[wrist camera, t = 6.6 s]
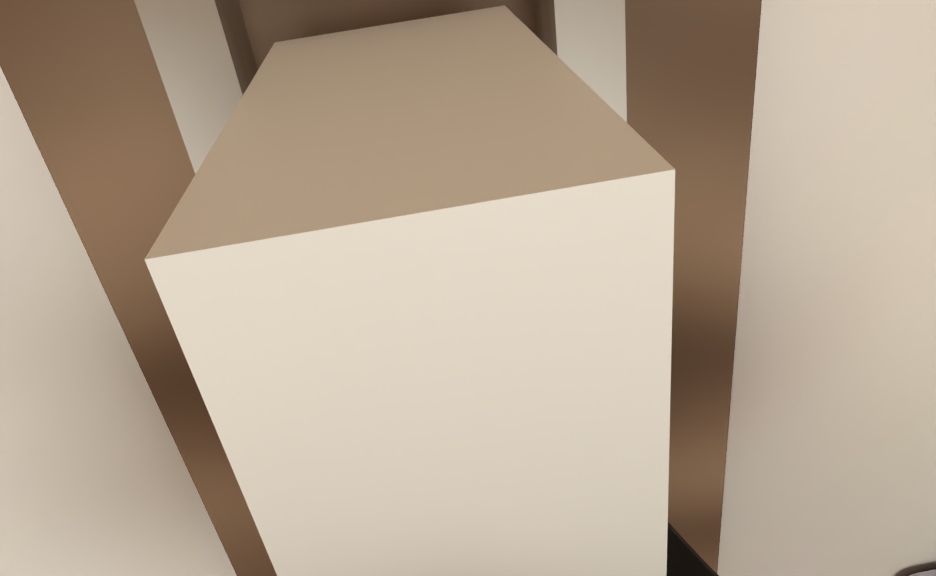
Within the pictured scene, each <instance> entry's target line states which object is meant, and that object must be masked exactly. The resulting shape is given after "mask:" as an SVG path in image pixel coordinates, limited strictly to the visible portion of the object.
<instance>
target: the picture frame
mask: <svg viewBox="0 0 936 576" xmlns="http://www.w3.org/2000/svg"><path fill="white" fill-rule="evenodd" d="M761 2H762V0H0V66H1V68H2V71H3V73H4V75H5V77H6V79H7V81H8V83H9V86H10V88H11V90H12V92H13V94H14V96H15V99H16V101H17V103H18V105H19V107H20V109H21V111H22V114H23V116H24V118H25V120H26V122H27V124H28V127H29V129H30V131H31V133H32V135H33V137H34V139H35V142H36V144H37V146H38V148H39V150H40V152H41V155H42V157H43V159H44V161H45V163H46V165H47V167H48V170H49V172H50V174H51V176H52V178H53V180H54V183H55V185H56V187H57V189H58V191H59V193H60V195H61V198H62V200H63V202H64V204H65V206H66V208H67V211H68V213H69V215H70V217H71V219H72V221H73V223H74V226H75V228H76V230H77V232H78V234H79V236H80V238H81V241H82V243H83V245H84V247H85V249H86V251H87V254H88V256H89V258H90V260H91V262H92V264H93V266H94V269H95V271H96V273H97V275H98V277H99V279H100V282H101V284H102V286H103V288H104V290H105V292H106V294H107V297H108V299H109V301H110V303H111V305H112V307H113V310H114V312H115V314H116V316H117V318H118V320H119V322H120V325H121V327H122V329H123V331H124V333H125V335H126V338H127V340H128V342H129V344H130V346H131V348H132V350H133V353H134V355H135V357H136V359H137V361H138V363H139V366H140V368H141V370H142V372H143V374H144V376H145V378H146V381H147V383H148V385H149V387H150V389H151V391H152V394H153V396H154V398H155V400H156V402H157V404H158V406H159V409H160V411H161V413H162V415H163V417H164V419H165V422H166V424H167V426H168V428H169V430H170V432H171V434H172V437H173V439H174V441H175V443H176V445H177V447H178V450H179V452H180V454H181V456H182V458H183V460H184V462H185V465H186V467H187V469H188V471H189V473H190V475H191V477H192V480H193V482H194V484H195V486H196V488H197V490H198V493H199V495H200V497H201V499H202V501H203V503H204V505H205V508H206V510H207V512H208V514H209V516H210V518H211V521H212V523H213V525H214V527H215V529H216V531H217V533H218V536H219V538H220V540H221V542H222V544H223V546H224V549H225V551H226V553H227V555H228V557H229V559H230V561H231V564H232V566H233V568H234V570H235V572H236V574H237V576H277V574H276V572H275V569H274V567H273V565H272V562H271V560H270V558H269V555H268V553H267V550H266V548H265V546H264V543H263V541H262V538H261V536H260V534H259V531H258V529H257V527H256V524H255V522H254V519H253V517H252V515H251V512H250V510H249V508H248V505H247V503H246V500H245V498H244V496H243V493H242V491H241V488H240V486H239V484H238V481H237V479H236V477H235V474H234V472H233V469H232V467H231V465H230V462H229V460H228V458H227V455H226V453H225V450H224V448H223V446H222V443H221V441H220V438H219V436H218V434H217V431H216V429H215V427H214V424H213V422H212V419H211V417H210V415H209V412H208V410H207V408H206V405H205V403H204V400H203V398H202V396H201V393H200V391H199V389H198V386H197V384H196V381H195V379H194V377H193V374H192V372H191V369H190V367H189V365H188V362H187V360H186V358H185V355H184V353H183V350H182V348H181V346H180V343H179V341H178V339H177V336H176V334H175V331H174V329H173V327H172V324H171V322H170V319H169V317H168V315H167V312H166V310H165V308H164V305H163V303H162V300H161V298H160V296H159V293H158V291H157V289H156V286H155V284H154V281H153V279H152V277H151V274H150V272H149V270H148V267H147V265H146V262H145V260H144V259H145V258H146V256H147V254H148V253H149V251H150V249H151V248H152V246H153V244H154V243H155V241H156V239H157V238H158V236H159V234H160V233H161V231H162V229H163V228H164V226H165V224H166V223H167V221H168V219H169V218H170V216H171V214H172V213H173V211H174V209H175V208H176V206H177V204H178V203H179V201H180V199H181V198H182V196H183V194H184V193H185V191H186V189H187V188H188V186H189V184H190V183H191V181H192V179H193V178H194V176H195V174H196V173H197V171H198V169H199V168H200V166H201V164H202V163H203V161H204V159H205V158H206V156H207V154H208V153H209V151H210V149H211V148H212V146H213V144H214V143H215V141H216V139H217V138H218V136H219V134H220V133H221V131H222V129H223V128H224V126H225V124H226V123H227V121H228V119H229V118H230V116H231V114H232V113H233V111H234V109H235V108H236V106H237V104H238V103H239V101H240V99H241V98H242V96H243V94H244V93H245V91H246V89H247V88H248V86H249V84H250V83H251V81H252V79H253V78H254V76H255V74H256V73H257V71H258V69H259V68H260V66H261V64H262V63H263V61H264V59H265V58H266V56H267V54H268V53H269V51H270V49H271V48H272V46H273V44H274V43H275V42H280V41H286V40H292V39H298V38H305V37H311V36H317V35H323V34H330V33H336V32H342V31H348V30H354V29H361V28H367V27H373V26H379V25H386V24H392V23H398V22H404V21H410V20H417V19H423V18H429V17H435V16H442V15H448V14H454V13H460V12H467V11H473V10H479V9H485V8H491V7H498V6H504V5H505V6H506V7H507V8H508V9H509V10H510V11H511V12H512V13H513V14H514V15H515V16H516V17H517V18H518V19H519V20H520V21H521V22H522V23H524V24H525V25H526V26H527V27H528V28H529V29H530V30H531V31H532V32H533V33H534V34H535V35H536V36H537V37H538V38H539V39H540V40H541V41H542V42H543V43H544V44H545V45H546V46H547V47H548V48H550V49H551V50H552V51H553V52H554V53H555V54H556V55H557V56H558V57H559V58H560V59H561V60H562V61H563V62H564V63H565V64H566V65H567V66H568V67H569V68H570V69H571V70H572V71H573V72H574V73H576V74H577V75H578V76H579V77H580V78H581V79H582V80H583V81H584V82H585V83H586V84H587V85H588V86H589V87H590V88H591V89H592V90H593V91H594V92H595V93H596V94H597V95H598V96H599V97H601V98H602V99H603V100H604V101H605V102H606V103H607V104H608V105H609V106H610V107H611V108H612V109H613V110H614V111H615V112H616V113H617V114H618V115H619V116H620V117H621V118H622V119H623V120H624V121H625V122H627V123H628V124H629V125H630V126H631V127H632V128H633V129H634V130H635V131H636V132H637V133H638V134H639V135H640V136H641V137H642V138H643V139H644V140H645V141H646V142H647V143H648V144H649V145H650V146H652V147H653V148H654V149H655V150H656V151H657V152H658V153H659V154H660V155H661V156H662V157H663V158H664V159H665V160H666V161H667V162H668V163H669V164H670V165H671V166H672V167H673V168H674V169H675V206H674V253H673V299H672V345H671V392H670V438H669V485H668V522H669V523H670V524H671V525H672V527H673V528H674V529H675V530H676V531H677V532H678V533H679V534H680V535H681V536H682V537H683V538H684V540H685V541H686V542H687V543H688V544H689V545H690V546H691V547H692V548H693V549H694V550H695V551H696V553H697V554H698V555H699V556H700V557H701V558H702V559H703V560H704V561H705V562H706V563H707V564H708V565H709V566H710V567H711V568H712V569H713V570H714V571H715V572H716V573H717V568H718V555H719V542H720V529H721V517H722V504H723V491H724V478H725V465H726V452H727V439H728V426H729V414H730V401H731V388H732V375H733V362H734V349H735V336H736V324H737V311H738V298H739V285H740V272H741V259H742V246H743V233H744V221H745V208H746V195H747V182H748V169H749V156H750V143H751V130H752V118H753V105H754V92H755V79H756V66H757V53H758V40H759V27H760V15H761Z"/></svg>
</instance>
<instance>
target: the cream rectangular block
mask: <svg viewBox="0 0 936 576" xmlns="http://www.w3.org/2000/svg"><path fill="white" fill-rule="evenodd" d="M674 206H675V169H674V168H673V167H672V166H671V165H670V164H669V163H668V162H667V161H666V160H665V159H664V158H663V157H662V156H661V155H660V154H659V153H658V152H657V151H656V150H655V149H654V148H653V147H652V146H650V145H649V144H648V143H647V142H646V141H645V140H644V139H643V138H642V137H641V136H640V135H639V134H638V133H637V132H636V131H635V130H634V129H633V128H632V127H631V126H630V125H629V124H628V123H627V122H625V121H624V120H623V119H622V118H621V117H620V116H619V115H618V114H617V113H616V112H615V111H614V110H613V109H612V108H611V107H610V106H609V105H608V104H607V103H606V102H605V101H604V100H603V99H602V98H601V97H599V96H598V95H597V94H596V93H595V92H594V91H593V90H592V89H591V88H590V87H589V86H588V85H587V84H586V83H585V82H584V81H583V80H582V79H581V78H580V77H579V76H578V75H577V74H576V73H574V72H573V71H572V70H571V69H570V68H569V67H568V66H567V65H566V64H565V63H564V62H563V61H562V60H561V59H560V58H559V57H558V56H557V55H556V54H555V53H554V52H553V51H552V50H551V49H550V48H548V47H547V46H546V45H545V44H544V43H543V42H542V41H541V40H540V39H539V38H538V37H537V36H536V35H535V34H534V33H533V32H532V31H531V30H530V29H529V28H528V27H527V26H526V25H525V24H524V23H522V22H521V21H520V20H519V19H518V18H517V17H516V16H515V15H514V14H513V13H512V12H511V11H510V10H509V9H508V8H507V7H506V6H505V5H504V6H498V7H491V8H485V9H479V10H473V11H467V12H460V13H454V14H448V15H442V16H435V17H429V18H423V19H417V20H410V21H404V22H398V23H392V24H386V25H379V26H373V27H367V28H361V29H354V30H348V31H342V32H336V33H330V34H323V35H317V36H311V37H305V38H298V39H292V40H286V41H280V42H275V43H274V44H273V46H272V48H271V49H270V51H269V53H268V54H267V56H266V58H265V59H264V61H263V63H262V64H261V66H260V68H259V69H258V71H257V73H256V74H255V76H254V78H253V79H252V81H251V83H250V84H249V86H248V88H247V89H246V91H245V93H244V94H243V96H242V98H241V99H240V101H239V103H238V104H237V106H236V108H235V109H234V111H233V113H232V114H231V116H230V118H229V119H228V121H227V123H226V124H225V126H224V128H223V129H222V131H221V133H220V134H219V136H218V138H217V139H216V141H215V143H214V144H213V146H212V148H211V149H210V151H209V153H208V154H207V156H206V158H205V159H204V161H203V163H202V164H201V166H200V168H199V169H198V171H197V173H196V174H195V176H194V178H193V179H192V181H191V183H190V184H189V186H188V188H187V189H186V191H185V193H184V194H183V196H182V198H181V199H180V201H179V203H178V204H177V206H176V208H175V209H174V211H173V213H172V214H171V216H170V218H169V219H168V221H167V223H166V224H165V226H164V228H163V229H162V231H161V233H160V234H159V236H158V238H157V239H156V241H155V243H154V244H153V246H152V248H151V249H150V251H149V253H148V254H147V256H146V258H145V259H144V260H145V262H146V265H147V267H148V270H149V272H150V274H151V277H152V279H153V281H154V284H155V286H156V289H157V291H158V293H159V296H160V298H161V300H162V303H163V305H164V308H165V310H166V312H167V315H168V317H169V319H170V322H171V324H172V327H173V329H174V331H175V334H176V336H177V339H178V341H179V343H180V346H181V348H182V350H183V353H184V355H185V358H186V360H187V362H188V365H189V367H190V369H191V372H192V374H193V377H194V379H195V381H196V384H197V386H198V389H199V391H200V393H201V396H202V398H203V400H204V403H205V405H206V408H207V410H208V412H209V415H210V417H211V419H212V422H213V424H214V427H215V429H216V431H217V434H218V436H219V438H220V441H221V443H222V446H223V448H224V450H225V453H226V455H227V458H228V460H229V462H230V465H231V467H232V469H233V472H234V474H235V477H236V479H237V481H238V484H239V486H240V488H241V491H242V493H243V496H244V498H245V500H246V503H247V505H248V508H249V510H250V512H251V515H252V517H253V519H254V522H255V524H256V527H257V529H258V531H259V534H260V536H261V538H262V541H263V543H264V546H265V548H266V550H267V553H268V555H269V558H270V560H271V562H272V565H273V567H274V569H275V572H276V574H277V576H667V531H668V485H669V438H670V392H671V345H672V299H673V253H674Z"/></svg>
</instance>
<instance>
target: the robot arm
mask: <svg viewBox="0 0 936 576" xmlns="http://www.w3.org/2000/svg"><path fill="white" fill-rule="evenodd" d="M667 576H719V575H718V574H717V573H716V572H715V571H714V570H713V569H712V568H711V567H710V566H709V565H708V564H707V563H706V562H705V561H704V560H703V559H702V558H701V557H700V556H699V555H698V554H697V553H696V551H695V550H694V549H693V548H692V547H691V546H690V545H689V544H688V543H687V542H686V541H685V540H684V538H683V537H682V536H681V535H680V534H679V533H678V532H677V531H676V530H675V529H674V528H673V527H672V525H671V524H670V523H669V522H668V531H667ZM909 576H936V569H934V570H929V571H924V572H919V573H914V574H911V575H909Z"/></svg>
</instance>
